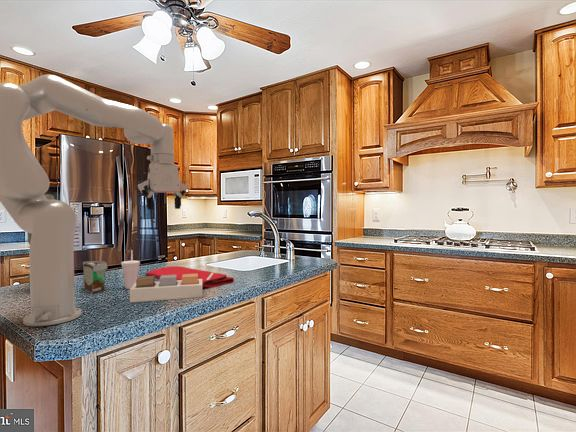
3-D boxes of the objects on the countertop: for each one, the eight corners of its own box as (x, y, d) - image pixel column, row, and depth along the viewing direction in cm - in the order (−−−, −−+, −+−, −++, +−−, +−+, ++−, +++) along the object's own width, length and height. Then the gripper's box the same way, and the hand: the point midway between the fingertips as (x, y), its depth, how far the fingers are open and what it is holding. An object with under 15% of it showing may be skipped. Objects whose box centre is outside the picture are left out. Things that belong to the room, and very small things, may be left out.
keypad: (202, 297, 107) (202, 285, 107) (129, 302, 101) (129, 289, 101) (202, 289, 117) (202, 278, 117) (135, 294, 111) (135, 282, 111)
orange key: (197, 285, 109) (197, 276, 109) (182, 286, 108) (182, 277, 108) (197, 282, 114) (197, 273, 114) (182, 283, 112) (182, 274, 112)
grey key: (175, 287, 107) (175, 277, 107) (159, 288, 106) (159, 278, 106) (176, 283, 112) (176, 274, 112) (161, 284, 111) (161, 275, 110)
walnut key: (153, 288, 105) (152, 278, 105) (136, 289, 104) (136, 279, 104) (155, 285, 110) (154, 275, 110) (139, 286, 109) (138, 276, 109)
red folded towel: (177, 271, 155) (177, 263, 155) (235, 283, 129) (235, 274, 129) (145, 277, 143) (145, 268, 142) (202, 291, 117) (202, 281, 117)
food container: (113, 291, 116) (112, 263, 115) (93, 294, 111) (93, 265, 111) (101, 285, 124) (101, 259, 124) (83, 288, 119) (82, 261, 119)
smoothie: (132, 290, 117) (132, 251, 116) (117, 289, 118) (116, 251, 118) (144, 286, 123) (143, 249, 123) (129, 285, 124) (128, 249, 124)
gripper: (141, 157, 105) (143, 209, 106) (190, 161, 117) (192, 208, 118) (133, 159, 110) (135, 209, 111) (181, 163, 122) (182, 208, 123)
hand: (164, 209), depth 114 cm, fingers open, 9 cm apart
